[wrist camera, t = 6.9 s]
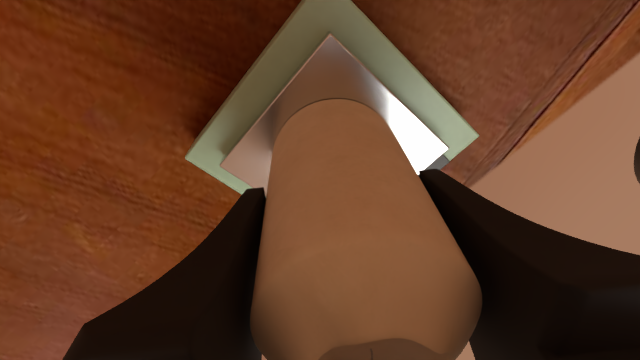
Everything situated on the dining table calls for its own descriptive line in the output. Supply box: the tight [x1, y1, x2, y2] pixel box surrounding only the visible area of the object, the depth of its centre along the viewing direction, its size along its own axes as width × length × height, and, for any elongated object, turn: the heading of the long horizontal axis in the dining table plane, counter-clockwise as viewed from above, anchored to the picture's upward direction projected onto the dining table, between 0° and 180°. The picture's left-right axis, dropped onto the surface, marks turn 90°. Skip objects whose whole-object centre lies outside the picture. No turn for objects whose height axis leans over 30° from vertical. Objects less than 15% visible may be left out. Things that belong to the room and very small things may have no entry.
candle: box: [250, 99, 482, 360], centre depth 11 cm, size 6×6×10 cm
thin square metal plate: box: [219, 31, 449, 196], centre depth 16 cm, size 7×7×1 cm
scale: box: [185, 0, 479, 194], centre depth 17 cm, size 10×10×2 cm
